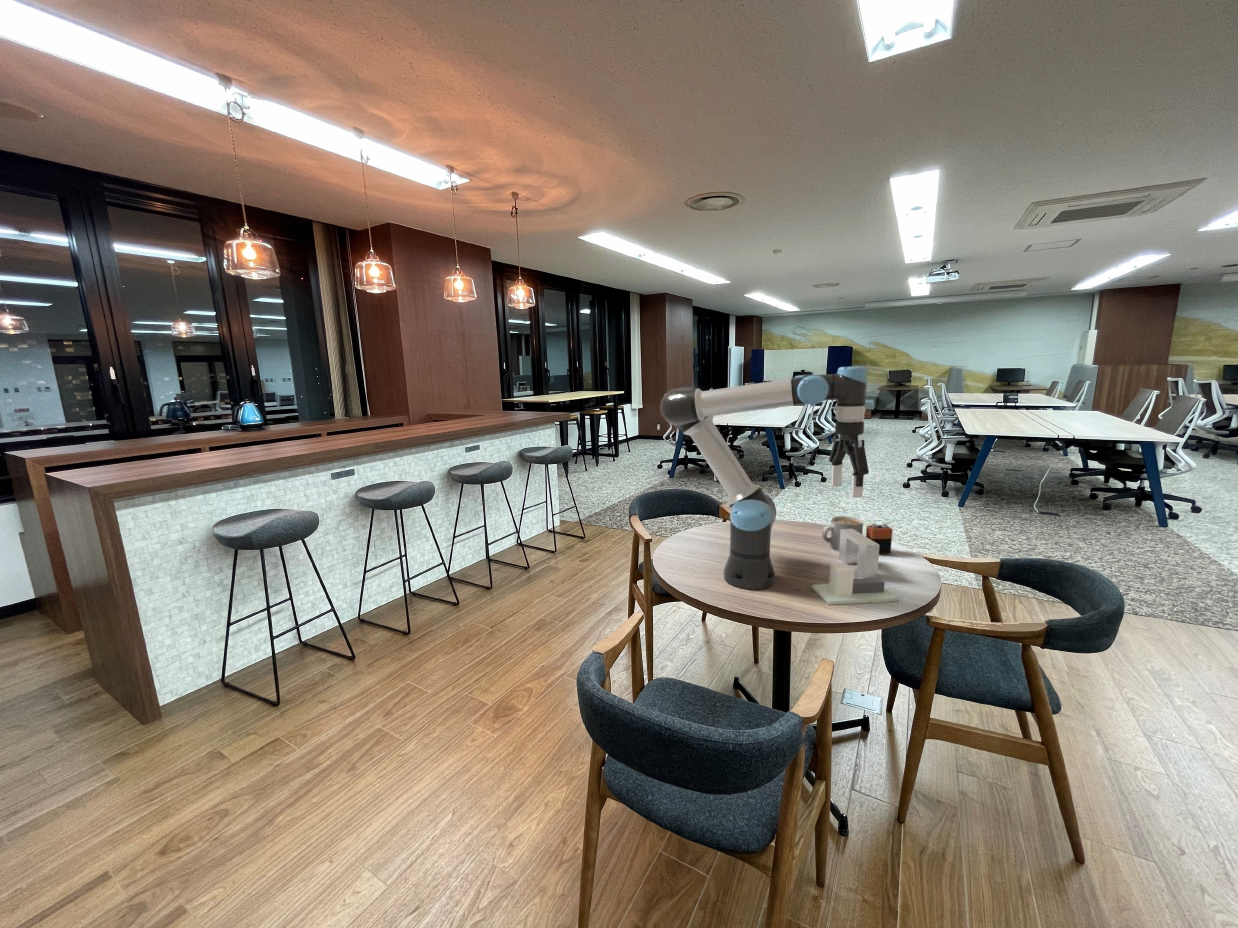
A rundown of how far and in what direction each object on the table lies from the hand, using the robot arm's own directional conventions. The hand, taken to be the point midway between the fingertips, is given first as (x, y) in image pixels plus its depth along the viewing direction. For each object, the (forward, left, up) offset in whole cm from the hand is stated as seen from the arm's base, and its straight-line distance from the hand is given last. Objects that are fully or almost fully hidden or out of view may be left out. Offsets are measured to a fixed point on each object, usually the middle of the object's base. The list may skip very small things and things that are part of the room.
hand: (846, 491), depth 141 cm
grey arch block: (+7, +3, -26) cm, 27 cm away
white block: (-3, -14, -25) cm, 29 cm away
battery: (+21, +15, -26) cm, 37 cm away
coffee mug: (+11, +21, -26) cm, 36 cm away
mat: (-4, -14, -26) cm, 30 cm away
